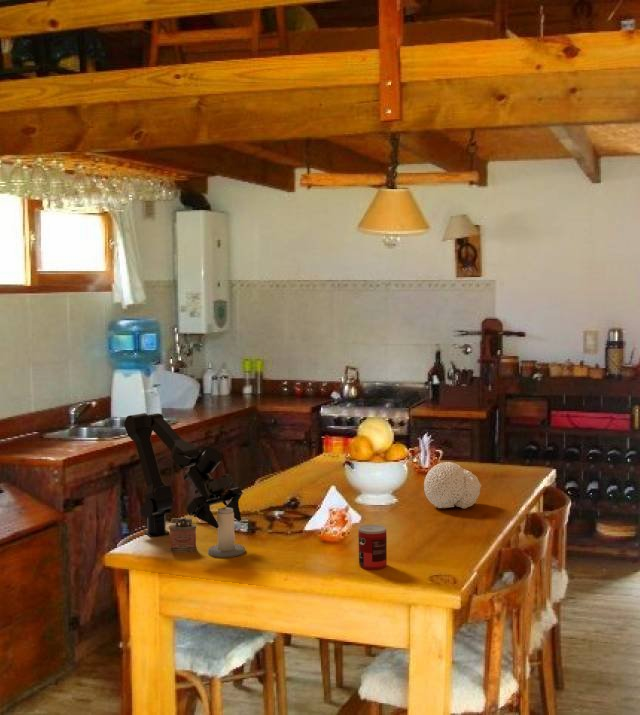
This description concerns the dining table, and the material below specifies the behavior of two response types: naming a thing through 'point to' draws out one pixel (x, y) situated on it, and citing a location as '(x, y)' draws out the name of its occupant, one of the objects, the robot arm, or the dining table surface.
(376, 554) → the canned food
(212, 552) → the disc
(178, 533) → the lighter
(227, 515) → the salt shaker
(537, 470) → the dining table surface
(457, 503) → the beige brain coral
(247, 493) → the dining table surface
